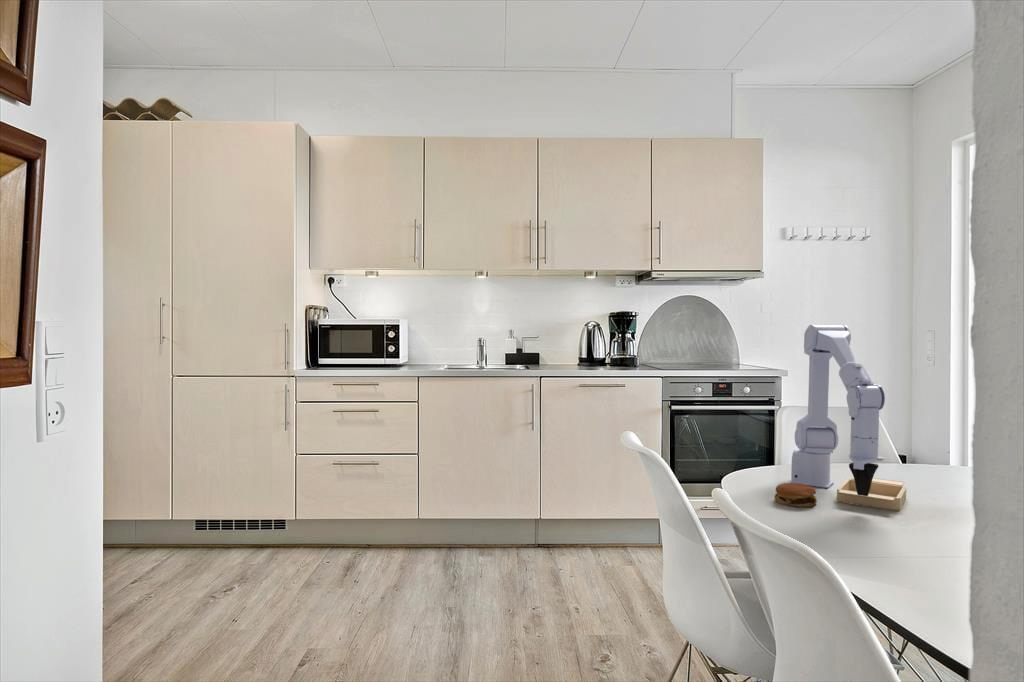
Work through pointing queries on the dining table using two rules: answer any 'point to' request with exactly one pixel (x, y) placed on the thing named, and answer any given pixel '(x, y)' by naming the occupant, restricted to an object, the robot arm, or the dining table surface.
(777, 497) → the burger
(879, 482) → the flap
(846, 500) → the carton
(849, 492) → the flap
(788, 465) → the dining table surface
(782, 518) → the dining table surface
